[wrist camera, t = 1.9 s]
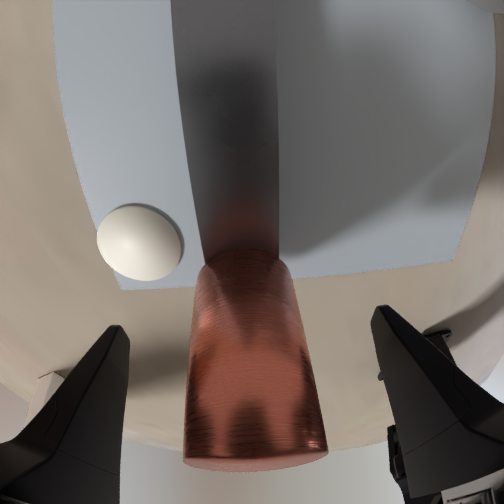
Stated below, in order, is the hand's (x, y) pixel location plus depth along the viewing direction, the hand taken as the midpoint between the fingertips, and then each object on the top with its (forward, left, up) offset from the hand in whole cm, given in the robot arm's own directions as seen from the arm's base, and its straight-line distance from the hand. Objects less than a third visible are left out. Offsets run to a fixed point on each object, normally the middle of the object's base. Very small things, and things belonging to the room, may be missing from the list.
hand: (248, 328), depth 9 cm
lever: (+9, 0, -3) cm, 10 cm away
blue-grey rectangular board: (+10, -3, -5) cm, 12 cm away
